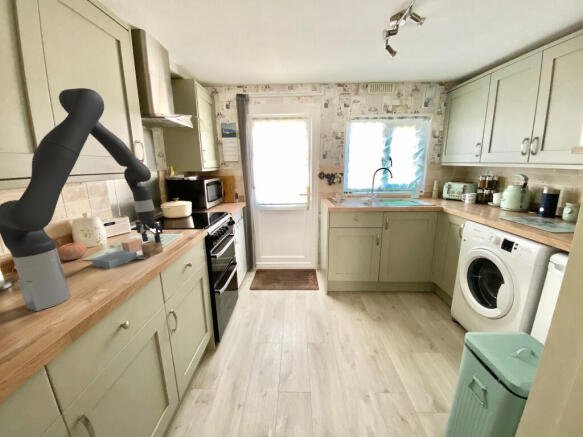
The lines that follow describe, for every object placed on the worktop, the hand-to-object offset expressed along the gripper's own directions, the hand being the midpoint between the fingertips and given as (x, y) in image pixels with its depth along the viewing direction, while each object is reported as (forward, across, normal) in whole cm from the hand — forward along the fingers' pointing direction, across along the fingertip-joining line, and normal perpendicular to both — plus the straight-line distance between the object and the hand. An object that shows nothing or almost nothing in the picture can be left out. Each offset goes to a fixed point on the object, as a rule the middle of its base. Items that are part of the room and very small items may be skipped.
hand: (151, 241), depth 112 cm
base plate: (+6, -9, -12) cm, 16 cm away
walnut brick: (+6, 0, 0) cm, 6 cm away
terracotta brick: (+6, -14, 0) cm, 15 cm away
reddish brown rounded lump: (+6, -35, -16) cm, 39 cm away
